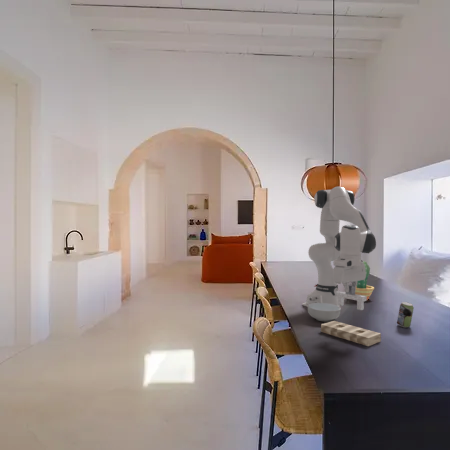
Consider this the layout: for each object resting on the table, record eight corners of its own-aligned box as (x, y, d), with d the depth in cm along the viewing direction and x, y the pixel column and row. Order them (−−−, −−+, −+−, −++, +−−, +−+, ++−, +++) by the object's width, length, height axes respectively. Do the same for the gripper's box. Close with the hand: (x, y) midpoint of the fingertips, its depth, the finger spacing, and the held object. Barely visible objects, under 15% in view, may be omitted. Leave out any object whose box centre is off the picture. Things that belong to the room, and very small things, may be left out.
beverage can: (398, 323, 180) (398, 300, 180) (414, 326, 175) (415, 302, 175) (395, 326, 175) (395, 302, 175) (411, 329, 170) (412, 304, 170)
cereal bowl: (318, 325, 177) (318, 311, 177) (301, 316, 193) (301, 303, 193) (347, 322, 182) (347, 309, 182) (329, 314, 198) (329, 301, 198)
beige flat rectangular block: (321, 331, 167) (321, 324, 167) (333, 327, 173) (334, 320, 173) (368, 346, 148) (368, 338, 148) (380, 341, 154) (380, 333, 154)
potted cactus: (374, 297, 241) (375, 260, 241) (373, 302, 227) (374, 263, 227) (350, 295, 248) (351, 259, 247) (348, 299, 234) (348, 262, 233)
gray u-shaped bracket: (335, 304, 165) (335, 283, 165) (339, 303, 166) (339, 282, 166) (362, 310, 153) (362, 287, 153) (366, 309, 155) (366, 287, 155)
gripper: (357, 258, 169) (357, 287, 169) (330, 261, 156) (330, 293, 156) (369, 260, 164) (369, 289, 164) (343, 263, 151) (343, 295, 151)
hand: (350, 291), depth 160 cm, fingers closed on gray u-shaped bracket, 3 cm apart
